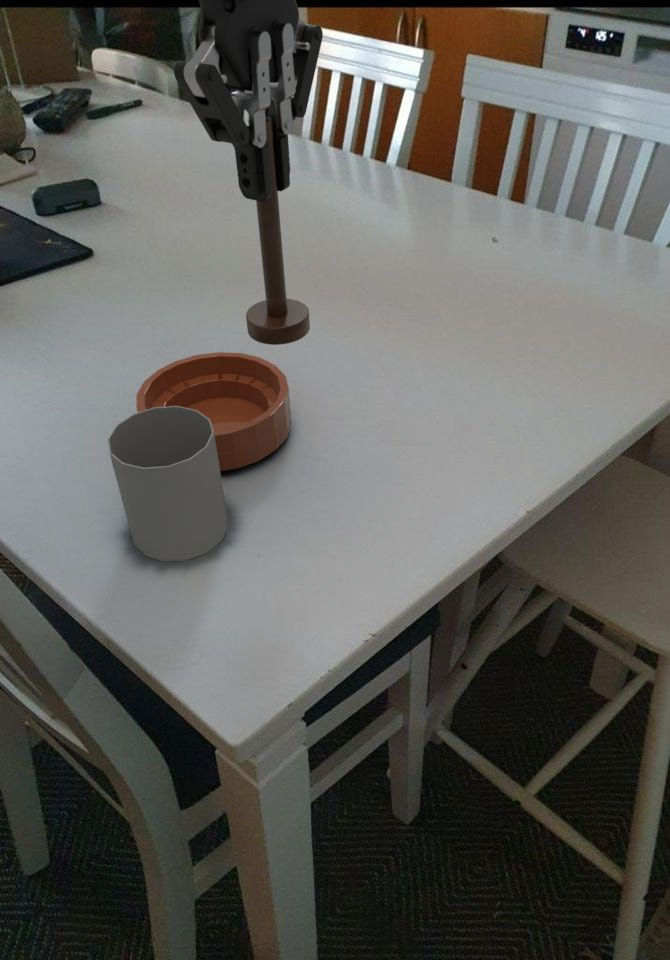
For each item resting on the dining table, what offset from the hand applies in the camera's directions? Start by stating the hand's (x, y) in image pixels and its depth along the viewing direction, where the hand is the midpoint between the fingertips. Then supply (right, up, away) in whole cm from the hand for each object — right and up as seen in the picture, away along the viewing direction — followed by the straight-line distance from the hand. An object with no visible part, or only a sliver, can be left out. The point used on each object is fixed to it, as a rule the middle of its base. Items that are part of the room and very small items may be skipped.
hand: (266, 192), depth 58 cm
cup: (-9, -25, +13) cm, 29 cm away
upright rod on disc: (0, -9, +7) cm, 11 cm away
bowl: (-7, -16, +24) cm, 29 cm away
